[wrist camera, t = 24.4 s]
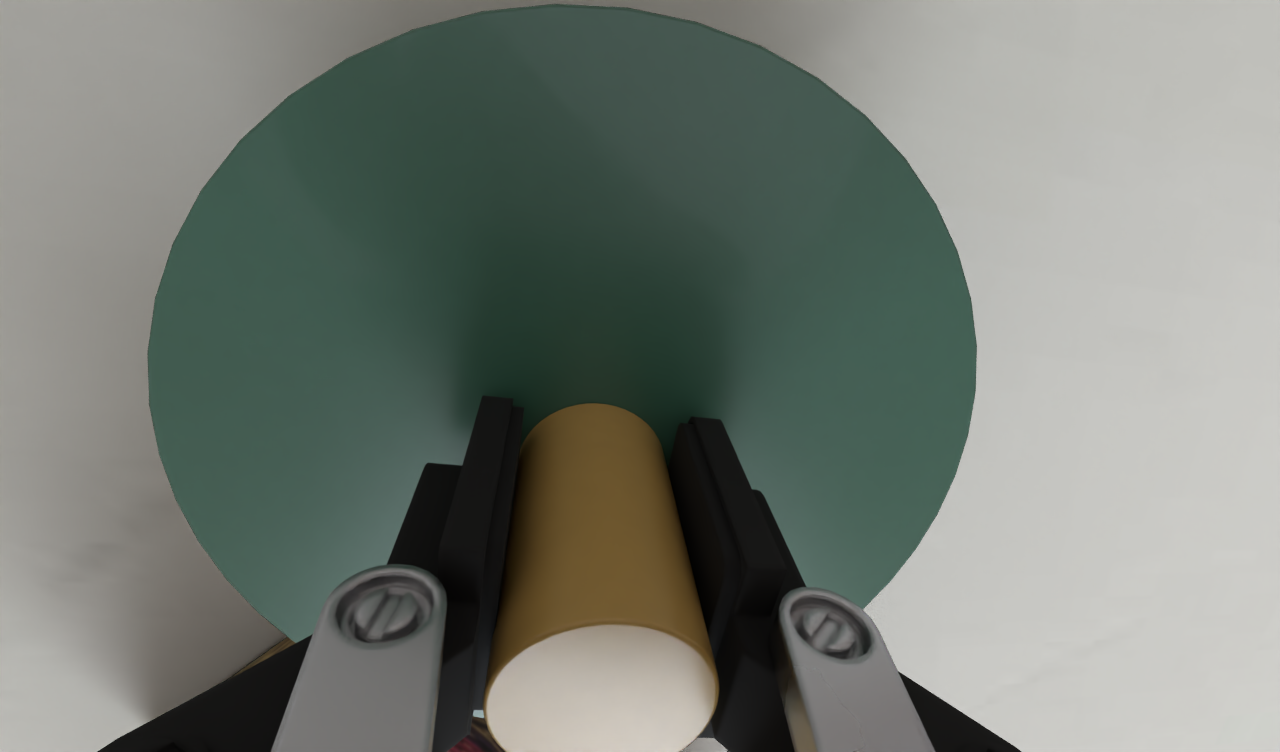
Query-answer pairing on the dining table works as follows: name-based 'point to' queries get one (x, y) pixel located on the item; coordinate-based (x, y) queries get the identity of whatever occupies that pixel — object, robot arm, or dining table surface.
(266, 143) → the lid
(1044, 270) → the dining table surface
